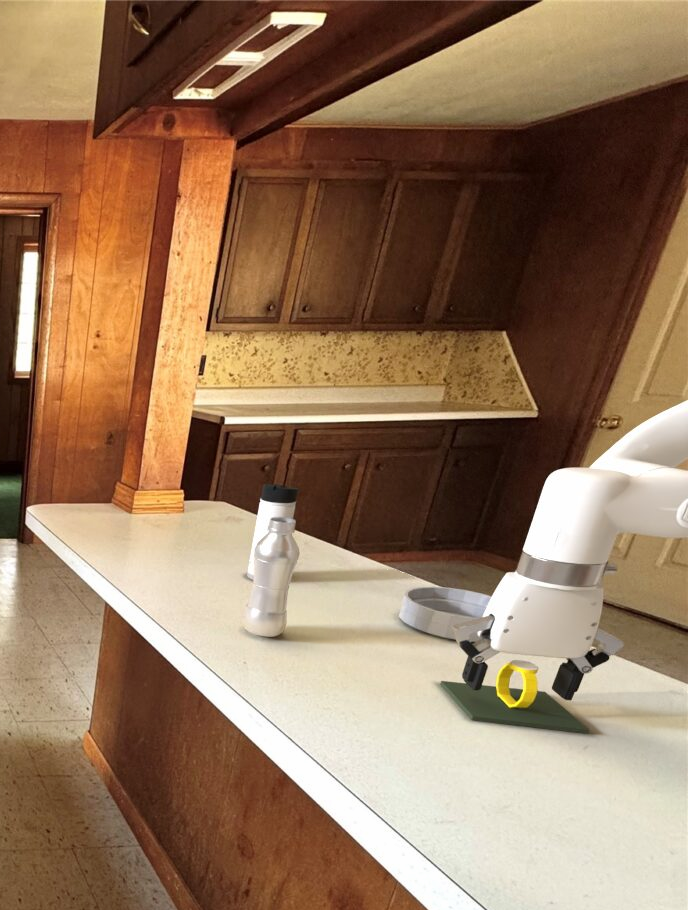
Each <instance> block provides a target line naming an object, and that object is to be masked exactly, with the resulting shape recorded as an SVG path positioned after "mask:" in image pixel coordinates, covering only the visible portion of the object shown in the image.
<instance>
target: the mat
mask: <svg viewBox="0 0 688 910" xmlns="http://www.w3.org/2000/svg"><path fill="white" fill-rule="evenodd" d="M439 685H440V686H441V687H442V688H443V690H444V691H445V692H446V693H447V694H448V695H449V696H450V697H451V699H452V700H453V701H454V702H455V703H456V704H457V705H458V706H459V708H460V709H461V710H462V711H463V712H464V713H465V715H466V716H468V718H469V719H470V720H471V721H479V722H485V723H487V722H488V723H495V724H503V725H512V726H521V727H527V728H528V727H529V728H536V729H546V730H554V731H562V732H568V733H569V732H571V733H577V734H587V735H588V733H589V732H590V729H589V728H588V727H587V726H586V725H584V724H583V723H582V721H579V719H577V718H576V717H575V716H574V715H572V713H570V712H569V711H568V710H567V709H566V708H565V707H564V706H562V705H561V704H560V703H559V702H557V701H556V700H555V699H554V698H553V697H552V696H551V695H550V694H549V693H547V692H546V691H541V690H537V694H536V697H535V699H534V701H533V702H532V703H531V704H530V705H529V706H528V707H527V708H521V709H519V708H509V706H508V705H507V704H506V703H505V702H504V701H503V700H502V699H501V698H500V697H499V696H498V695H497V689H496V685H495V686H493V685H485V684H482V686H481V689H480V690H478V691H477V690H472V689H471V688H470V687H469V686H468V685H467V684H466V682H456V681H447V680H440V683H439ZM509 690H510V695H511V697H512V698H513V699H514V700H515V701H516V702H518V701H519V700H520V698H521V695H522V692H523V689H522V688H513V687H509Z"/></svg>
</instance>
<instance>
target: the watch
mask: <svg viewBox="0 0 688 910" xmlns="http://www.w3.org/2000/svg"><path fill="white" fill-rule="evenodd" d="M514 672H516V673H520V674H521V677H522V682H523V683H522V684H523V685H522V688H523V692H522V695H521V698H520V700H519V701H518V702H516V701H515V700H514V699H513V698H512V697H511V695H510V690H509V688H510V684H511V683H510V682H511V677H512V676H513V673H514ZM538 672H539V666H538V665H536V664H535V663H533V662H530V661H527V660H523V659H512V660H511V661H510V662H507V663H505V664H504V665H503V666H502V667H501V668H500V669H499V671H498V673H497V676H496V682H495V687H496V689H497V695H498V696H499V697H500V698H501V699H502V700H503V701H504V702H505V703H506V704H507V705H508V706H509V708H519V709H521V708H527V707H528V706H529V705H530V704H531V703H532V702H533V701H534V699H535V697H536V694H537V691H538V677H537V675H536V674H537V673H538Z"/></svg>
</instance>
